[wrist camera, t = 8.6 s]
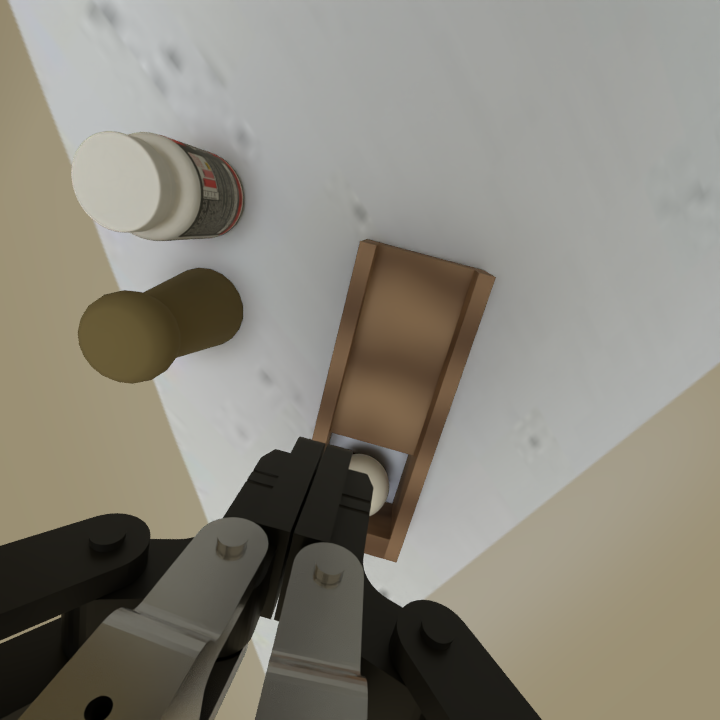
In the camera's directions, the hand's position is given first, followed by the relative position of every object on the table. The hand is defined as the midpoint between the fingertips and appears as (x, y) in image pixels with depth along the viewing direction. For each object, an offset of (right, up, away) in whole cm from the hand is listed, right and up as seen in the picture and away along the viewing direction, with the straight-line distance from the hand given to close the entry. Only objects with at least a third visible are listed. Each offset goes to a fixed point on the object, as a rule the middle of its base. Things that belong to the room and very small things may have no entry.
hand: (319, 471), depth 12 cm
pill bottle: (-10, +15, +19) cm, 26 cm away
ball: (+1, -7, +22) cm, 23 cm away
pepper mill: (-11, +7, +22) cm, 25 cm away
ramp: (+3, 0, +22) cm, 22 cm away
